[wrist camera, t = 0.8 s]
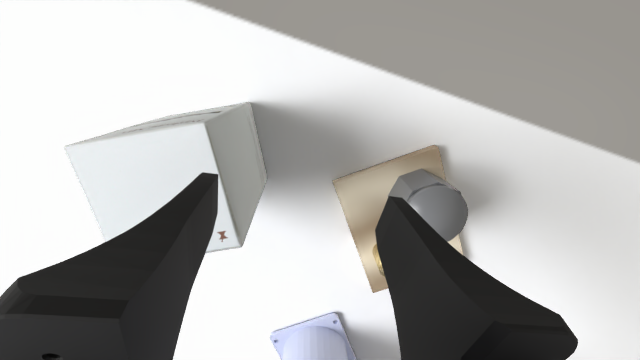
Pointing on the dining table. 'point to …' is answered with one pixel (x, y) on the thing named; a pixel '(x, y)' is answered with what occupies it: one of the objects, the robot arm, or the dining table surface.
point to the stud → (377, 259)
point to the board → (380, 202)
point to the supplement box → (174, 169)
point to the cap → (433, 201)
